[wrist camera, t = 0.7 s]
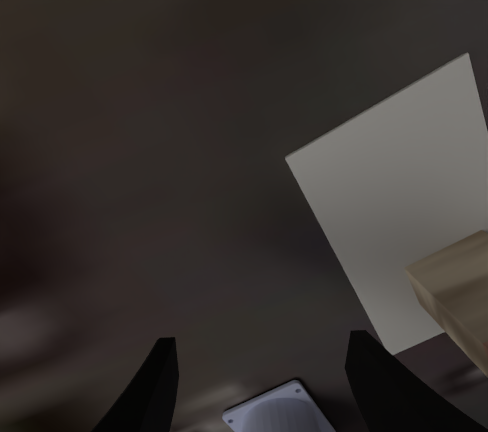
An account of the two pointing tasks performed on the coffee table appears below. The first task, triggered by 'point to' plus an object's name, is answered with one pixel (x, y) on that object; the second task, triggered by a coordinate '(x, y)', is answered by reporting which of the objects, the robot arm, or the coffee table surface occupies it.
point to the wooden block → (457, 293)
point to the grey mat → (400, 192)
